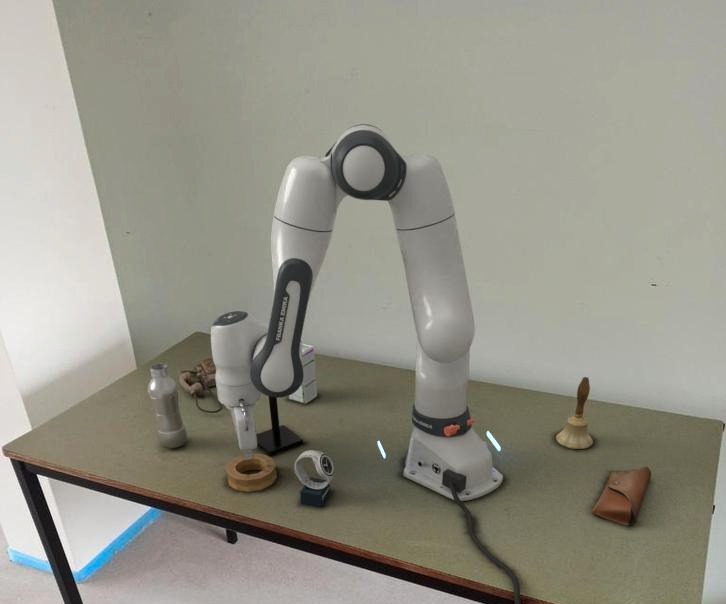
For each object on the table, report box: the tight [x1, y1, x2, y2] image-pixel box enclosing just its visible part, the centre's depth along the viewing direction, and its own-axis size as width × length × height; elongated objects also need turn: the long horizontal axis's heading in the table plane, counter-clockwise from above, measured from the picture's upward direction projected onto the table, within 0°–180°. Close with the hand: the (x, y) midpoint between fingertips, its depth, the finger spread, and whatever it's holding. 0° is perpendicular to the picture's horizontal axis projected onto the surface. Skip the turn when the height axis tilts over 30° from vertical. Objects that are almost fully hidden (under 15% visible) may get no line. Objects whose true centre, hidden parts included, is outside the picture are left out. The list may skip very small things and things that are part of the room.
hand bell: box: [555, 376, 594, 450], centre depth 153 cm, size 8×8×16 cm
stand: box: [256, 396, 304, 457], centre depth 154 cm, size 9×9×17 cm
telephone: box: [178, 357, 223, 414], centre depth 182 cm, size 15×33×4 cm, turn 23°
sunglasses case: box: [591, 466, 652, 527], centre depth 136 cm, size 18×7×7 cm
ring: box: [225, 452, 278, 493], centre depth 145 cm, size 11×11×3 cm
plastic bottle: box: [147, 362, 188, 449], centre depth 153 cm, size 6×7×20 cm
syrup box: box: [287, 343, 318, 405], centre depth 174 cm, size 6×6×14 cm
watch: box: [293, 449, 335, 509], centre depth 136 cm, size 6×8×11 cm
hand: (245, 446), depth 147 cm, fingers open, 8 cm apart
